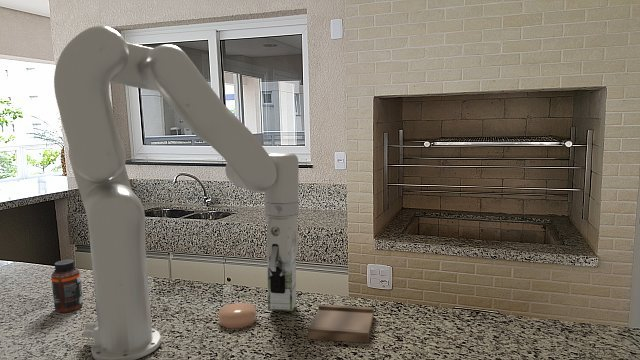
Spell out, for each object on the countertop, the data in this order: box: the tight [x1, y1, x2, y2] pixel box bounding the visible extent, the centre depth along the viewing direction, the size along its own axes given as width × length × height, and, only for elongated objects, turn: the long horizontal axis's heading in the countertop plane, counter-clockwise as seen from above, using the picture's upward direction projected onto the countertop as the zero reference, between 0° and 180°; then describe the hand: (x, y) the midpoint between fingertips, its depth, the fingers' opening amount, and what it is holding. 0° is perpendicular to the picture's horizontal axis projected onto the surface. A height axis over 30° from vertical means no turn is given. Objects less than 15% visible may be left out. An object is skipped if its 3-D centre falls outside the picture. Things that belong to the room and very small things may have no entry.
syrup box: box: [266, 247, 297, 312], centre depth 108 cm, size 6×6×14 cm
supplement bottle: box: [50, 259, 84, 313], centre depth 113 cm, size 6×6×11 cm
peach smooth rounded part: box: [218, 302, 257, 329], centre depth 105 cm, size 8×8×2 cm
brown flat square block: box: [307, 304, 375, 344], centre depth 100 cm, size 12×12×2 cm
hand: (282, 286), depth 109 cm, fingers closed on syrup box, 6 cm apart
